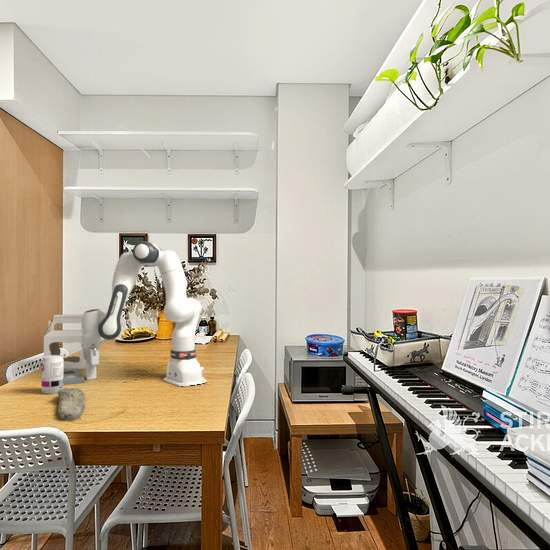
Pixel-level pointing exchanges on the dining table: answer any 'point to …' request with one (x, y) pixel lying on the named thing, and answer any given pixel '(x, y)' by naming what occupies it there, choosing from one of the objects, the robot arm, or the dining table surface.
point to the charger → (88, 374)
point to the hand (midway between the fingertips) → (91, 371)
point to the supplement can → (52, 374)
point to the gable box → (64, 340)
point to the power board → (72, 377)
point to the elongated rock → (71, 403)
